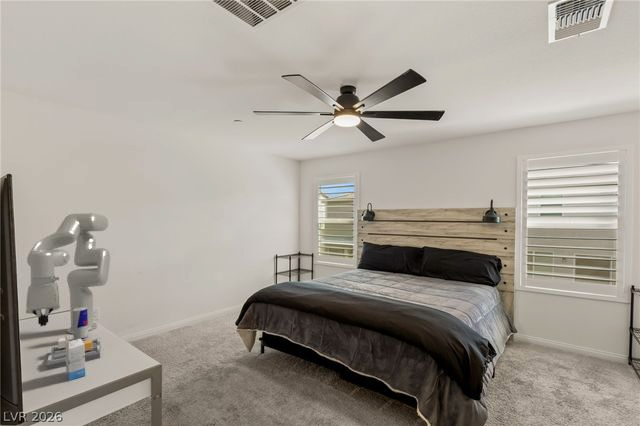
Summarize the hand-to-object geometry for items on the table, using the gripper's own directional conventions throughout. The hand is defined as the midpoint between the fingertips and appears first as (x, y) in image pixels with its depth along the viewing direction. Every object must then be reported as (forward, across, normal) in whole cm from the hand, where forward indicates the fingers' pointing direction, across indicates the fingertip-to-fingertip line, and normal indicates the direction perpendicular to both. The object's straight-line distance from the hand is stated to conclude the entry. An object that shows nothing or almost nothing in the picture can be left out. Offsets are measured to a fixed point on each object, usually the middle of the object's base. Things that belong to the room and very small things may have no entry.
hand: (43, 325), depth 133 cm
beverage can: (+14, -12, -16) cm, 24 cm away
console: (+14, -11, +4) cm, 18 cm away
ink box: (+15, -12, +25) cm, 31 cm away
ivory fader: (+12, -6, -1) cm, 13 cm away
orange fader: (+12, -15, +9) cm, 21 cm away
